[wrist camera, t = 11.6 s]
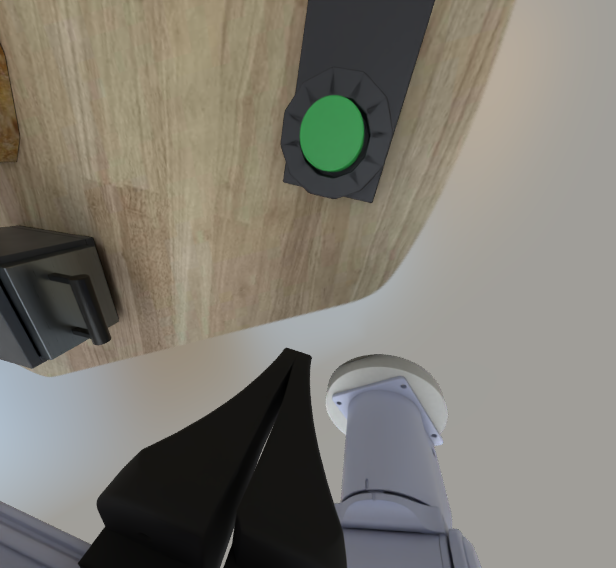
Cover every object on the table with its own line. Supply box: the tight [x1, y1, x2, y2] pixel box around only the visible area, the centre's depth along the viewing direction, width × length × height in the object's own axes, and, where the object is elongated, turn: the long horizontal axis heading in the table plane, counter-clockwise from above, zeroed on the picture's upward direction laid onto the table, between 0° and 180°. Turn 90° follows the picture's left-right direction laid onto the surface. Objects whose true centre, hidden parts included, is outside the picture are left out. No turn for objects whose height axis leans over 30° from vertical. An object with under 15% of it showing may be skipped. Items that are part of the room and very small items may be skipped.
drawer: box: [0, 245, 119, 360], centre depth 23 cm, size 13×9×7 cm
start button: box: [300, 95, 364, 172], centre depth 13 cm, size 3×3×2 cm
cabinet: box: [0, 225, 119, 368], centre depth 24 cm, size 11×11×9 cm
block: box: [281, 0, 435, 203], centre depth 14 cm, size 10×6×4 cm, turn 168°
